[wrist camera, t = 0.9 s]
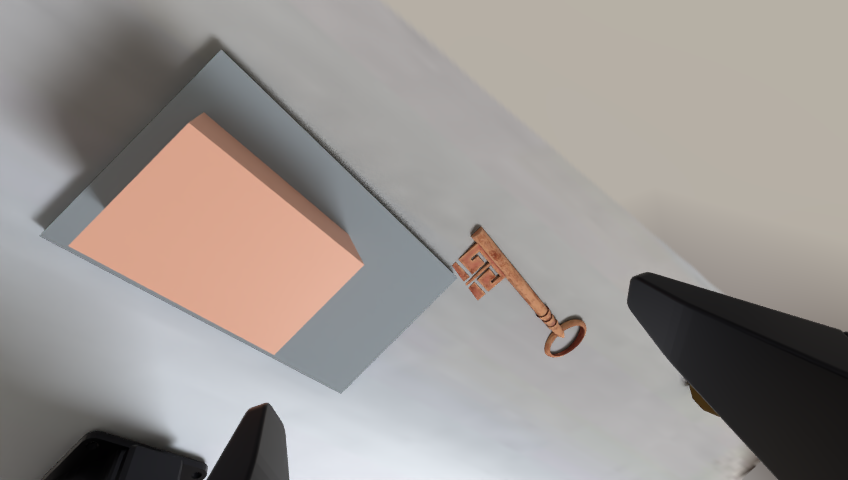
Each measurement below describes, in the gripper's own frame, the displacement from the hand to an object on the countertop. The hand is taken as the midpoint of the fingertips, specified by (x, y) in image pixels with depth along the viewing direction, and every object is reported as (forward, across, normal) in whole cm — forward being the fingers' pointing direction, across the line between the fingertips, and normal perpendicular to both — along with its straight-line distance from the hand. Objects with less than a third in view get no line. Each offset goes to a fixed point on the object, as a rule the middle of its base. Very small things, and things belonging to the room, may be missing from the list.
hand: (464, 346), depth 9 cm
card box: (+11, +7, 0) cm, 13 cm away
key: (+13, -8, +12) cm, 19 cm away
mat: (+11, +5, +3) cm, 13 cm away
